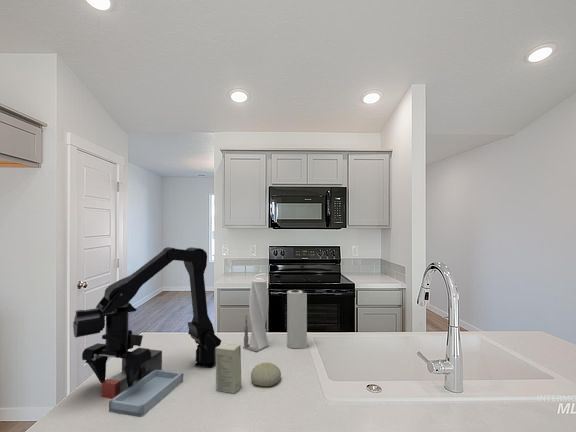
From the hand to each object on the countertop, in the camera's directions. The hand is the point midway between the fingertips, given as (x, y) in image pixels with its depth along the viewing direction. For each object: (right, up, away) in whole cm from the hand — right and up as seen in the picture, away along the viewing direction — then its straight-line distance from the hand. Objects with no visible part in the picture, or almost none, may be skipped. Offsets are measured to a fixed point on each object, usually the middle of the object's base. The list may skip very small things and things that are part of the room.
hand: (116, 384), depth 92 cm
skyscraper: (+37, -3, +34) cm, 50 cm away
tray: (+10, -2, -1) cm, 10 cm away
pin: (+1, -2, +4) cm, 5 cm away
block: (+2, -2, +10) cm, 11 cm away
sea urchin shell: (+42, -3, +7) cm, 42 cm away
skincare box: (+31, -2, +2) cm, 32 cm away
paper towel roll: (+52, -3, +34) cm, 62 cm away
